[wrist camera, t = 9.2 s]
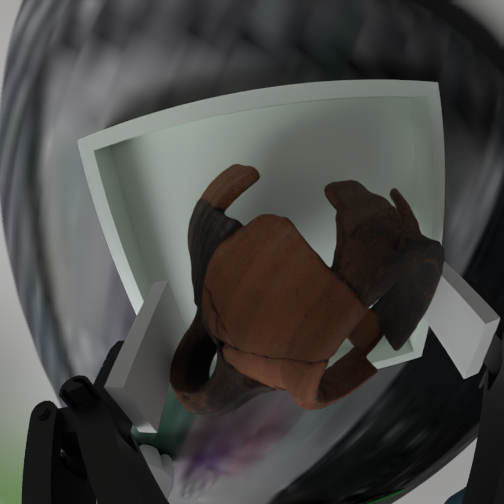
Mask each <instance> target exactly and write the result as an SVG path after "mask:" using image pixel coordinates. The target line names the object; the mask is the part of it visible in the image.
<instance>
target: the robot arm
mask: <svg viewBox="0 0 504 504" xmlns="http://www.w3.org/2000/svg"><path fill="white" fill-rule="evenodd" d="M423 317H424V319H425V320H426V322H427V323H428V324H429V326H430V327H431V329H432V330H433V332H434V333H435V335H436V336H437V338H438V339H439V341H440V342H441V344H442V345H443V347H444V348H445V350H446V351H447V353H448V354H449V356H450V357H451V359H452V361H453V362H454V364H455V365H456V367H457V368H458V370H459V372H460V373H461V375H462V377H463V378H464V379H465V378H468V377H470V376H472V375H474V374H477V373H478V372H479V370H480V368H481V366H482V364H483V362H484V363H485V365H486V366H487V369H486V372H485V374H484V376H483V378H482V380H481V382H480V384H479V387H478V388H481V386H482V384H483V382H484V391H483V402H482V411H481V419H480V426H479V432H478V438H477V444H476V449H475V454H474V459H473V463H472V467H471V471H470V475H469V479H468V483H467V486H466V487H465V488H464V489H462V490H460V491H459V492H457V493H455V494H454V495H453V496H451V497H450V498H449V499H448V500H447V501H446V502H445V503H444V504H504V310H503V309H502V308H501V307H500V306H499V305H498V304H497V303H496V302H495V301H494V300H492V298H491V297H490V296H489V295H488V294H487V293H486V292H485V291H484V290H483V289H482V288H481V287H480V286H479V285H477V284H475V283H473V282H471V281H468V282H466V281H465V280H464V279H463V278H462V277H460V276H459V275H458V274H457V273H456V272H455V271H454V270H453V269H452V268H451V267H450V266H449V265H448V264H447V263H446V262H445V261H444V265H443V272H442V275H441V278H440V281H439V284H438V286H437V288H436V292H435V294H434V297H433V299H432V301H431V303H430V305H429V307H428V309H427V311H426V313H425V315H424V316H423ZM184 326H185V325H184V322H183V319H182V317H181V314H180V311H179V309H178V306H177V303H176V301H175V298H174V295H173V292H172V290H171V287H170V284H169V281H168V280H166V281H159V282H154V283H153V285H152V287H151V289H150V291H149V293H148V295H147V297H146V299H145V301H144V302H143V304H142V306H141V308H140V310H139V312H138V315H137V317H136V319H135V321H134V323H133V325H132V327H131V329H130V331H129V333H128V335H127V337H126V339H125V341H118V342H117V343H116V344H115V345H114V346H113V347H112V348H111V349H110V351H109V353H108V355H107V357H106V360H105V361H104V363H103V367H101V369H100V372H99V374H98V376H97V378H96V380H95V382H94V384H92V383H91V382H90V380H89V379H88V378H87V377H85V376H79V375H78V376H75V377H72V378H70V379H69V380H67V381H66V382H65V383H64V384H63V385H62V387H61V389H60V393H59V396H60V397H61V399H62V400H63V401H64V402H65V403H66V405H67V406H68V407H64V408H59V409H58V408H57V407H56V405H55V404H54V403H53V402H51V401H43V402H41V403H39V404H38V405H36V406H35V408H34V409H33V411H32V413H31V417H30V423H29V429H28V435H27V442H26V449H25V458H24V469H23V482H22V504H96V500H97V503H98V504H169V502H168V501H167V499H166V497H165V496H164V494H163V492H162V490H161V489H160V487H159V485H158V483H157V481H156V480H155V478H154V476H153V474H152V472H151V470H150V468H149V466H148V464H147V462H146V460H145V458H144V456H143V454H142V452H141V450H140V448H139V446H138V443H137V441H136V439H135V437H134V436H133V434H132V433H131V432H130V431H131V428H132V425H134V426H135V427H136V428H137V430H138V431H139V432H148V433H157V432H158V428H159V423H160V419H161V415H162V410H163V406H164V402H165V398H166V394H167V390H168V386H169V382H170V369H171V363H172V360H173V356H174V354H175V351H176V349H177V347H178V345H179V343H180V340H181V336H182V333H183V329H184Z"/></svg>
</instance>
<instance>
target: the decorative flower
mask: <svg viewBox="0 0 504 504" xmlns="http://www.w3.org/2000/svg"><path fill="white" fill-rule="evenodd" d="M404 490H405V489H404V488H403V489H400V490H398V491H395V492H393V493H390V494H388V495H385V496H383V497H380V498H378V499H375V500H372V501H370V502H367V503H364V504H373V503H375V502H378V501H381V500H383V499H386V498H388V497H391V496H393V495H395V494H398V493H400V492H402V491H404Z"/></svg>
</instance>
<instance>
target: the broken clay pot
mask: <svg viewBox="0 0 504 504" xmlns="http://www.w3.org/2000/svg"><path fill="white" fill-rule="evenodd" d="M259 179H260V174H259V172H258V170H257V169H256V168H254V167H252V166H244V165H241V164H234V165H231V166H230V167H229V168H227V169H226V170H224V171H223V172H222V173H220V174H219V175H218V176H217V177H216V178H215V179H214V180H213V181H212V182H211V183H210V184H209V186H208V187H207V188H206V190H205V191H204V192H203V194H202V196H201V198H200V199H199V200H198V201H197V203H196V205H195V207H194V210H193V213H192V216H191V218H190V221H189V227H188V236H187V239H188V240H187V241H188V250H189V255H190V261H191V279H192V285H193V291H194V303H195V305H196V306H197V311H196V315H195V318H194V320H193V321H192V323H191V325H190V327H189V328H188V330H187V331H186V333H185V334H184V336H183V337H182V339H181V341H180V343H179V345H178V347H177V349H176V351H175V354H174V356H173V360H172V363H171V369H170V383H171V387H172V389H173V391H174V393H175V395H176V397H177V398H178V400H179V401H180V402H181V404H182V405H183V406H184V407H185V408H186V409H187V410H189V411H190V412H192V413H195V414H198V415H210V416H219V415H224V414H226V413H229V412H231V411H233V410H235V409H237V408H239V407H240V406H242V405H243V404H244V403H246V402H247V401H249V400H250V399H252V398H254V397H255V396H257V395H259V394H262V393H266V392H270V391H274V390H276V389H278V390H281V391H285V390H288V391H289V392H290V393H291V395H292V396H293V398H294V400H295V402H296V403H297V404H298V405H299V406H300V407H301V408H303V409H307V410H313V409H322V408H324V407H327V406H329V405H330V404H333V403H335V402H337V401H338V400H340V399H342V398H344V397H345V396H347V395H348V394H350V393H352V392H353V391H354V390H356V389H357V388H359V387H360V386H361V385H363V384H364V383H365V382H366V381H368V380H369V379H370V378H371V377H372V376H373V375H374V374H376V373H377V368H376V367H375V366H374V365H373V364H372V363H371V362H370V361H369V360H368V359H367V355H368V354H369V353H370V352H371V351H372V350H373V349H374V348H375V346H376V345H377V344H378V343H379V341H380V340H381V339H382V337H383V336H385V338H386V339H387V341H388V343H389V344H390V345H391V347H392V348H393V350H394V351H398V350H400V349H401V348H402V347H403V345H404V344H405V343H406V342H407V340H408V339H409V338H410V336H411V335H412V333H413V332H414V331H415V329H416V328H417V326H418V324H419V322H420V321H421V319H422V318H423V316H424V315H425V313H426V311H427V309H428V307H429V305H430V303H431V301H432V299H433V297H434V294H435V292H436V288H437V286H438V284H439V281H440V278H441V275H442V272H443V265H444V248H443V247H442V245H441V243H440V242H439V241H437V240H433V239H430V238H428V237H426V236H424V235H423V234H422V233H421V231H420V228H419V223H418V221H417V219H416V217H415V216H414V213H413V211H412V209H411V207H410V205H409V204H408V202H407V201H406V200H405V199H404V197H403V196H402V195H401V193H400V192H399V191H398V190H397V189H396V188H393V189H391V191H390V197H391V199H392V201H393V202H394V204H395V206H396V208H395V207H394V206H393V205H391V203H390V202H389V201H388V200H387V199H386V198H384V197H382V196H380V195H378V194H374V193H372V192H370V191H368V190H367V189H366V188H365V187H364V186H363V185H362V184H361V183H359V182H358V181H355V180H346V181H337V182H332V183H330V184H328V185H326V186H325V188H324V192H325V196H326V198H327V199H328V201H329V202H330V203H331V205H332V206H333V207H334V208H335V209H336V211H337V212H336V217H335V221H336V247H335V251H334V257H333V263H332V266H331V267H328V266H327V264H326V263H325V262H324V261H323V259H322V258H321V257H320V255H319V254H318V253H317V252H316V251H314V250H313V248H312V247H311V246H310V245H309V243H308V242H307V241H306V240H305V239H304V237H303V236H302V235H301V234H300V233H299V231H298V230H297V228H296V227H295V225H294V224H293V223H292V221H291V220H290V219H288V218H287V217H280V216H278V215H274V214H262V215H259V216H257V217H256V218H254V219H253V220H251V221H250V222H249V223H248V224H247V225H245V226H244V225H242V223H241V222H240V221H238V220H236V219H233V218H230V217H228V216H226V215H225V211H226V210H227V208H228V207H230V205H231V204H232V203H233V202H234V201H235V200H236V199H237V198H238V197H239V196H240V195H241V194H242V193H243V192H245V191H246V190H247V189H248V188H249V187H251V186H252V185H253V184H254V183H256V182H257V181H258V180H259ZM378 299H379V300H378ZM377 300H378V301H377ZM376 301H377V302H376ZM375 302H376V303H375ZM371 305H373V306H372V307H371V308H369V307H370V306H371ZM345 339H348V340H349V341H350V342H351V344H352V345H353V346H354V347H353V348H352V349H351V350H350V351H349V352H348V353H346V354H345V355H344V356H343V357H341V358H340V359H339V360H337V361H336V362H335V363H334V364H333V365H332V366H330V367H328V368H327V366H328V363H329V359H330V358H331V357H332V356H334V355H335V353H336V352H337V350H338V349H339V347H340V346H341V344H342V343H343V342H344V340H345ZM216 353H217V361H216V366H215V369H214V372H213V374H212V375H211V377H210V367H211V364H212V361H213V358H214V356H215V355H216ZM326 368H327V369H326Z"/></svg>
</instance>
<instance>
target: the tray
mask: <svg viewBox="0 0 504 504" xmlns="http://www.w3.org/2000/svg"><path fill="white" fill-rule="evenodd" d="M77 142H78V146H79V151H80V155H81V159H82V163H83V167H84V170H85V174H86V178H87V181H88V185H89V188H90V192H91V195H92V198H93V202H94V205H95V208H96V211H97V214H98V217H99V220H100V223H101V226H102V229H103V232H104V235H105V238H106V241H107V244H108V246H109V249H110V252H111V254H112V257H113V260H114V262H115V265H116V267H117V270H118V273H119V275H120V278H121V280H122V282H123V285H124V287H125V290H126V292H127V294H128V297H129V299H130V301H131V304H132V306H133V308H134V310H135V313H136V315H138V312H139V310H140V308H141V306H142V304H143V302H144V301H145V299H146V297H147V295H148V293H149V291H150V289H151V287H152V285H153V283H154V282H159V281H166V280H168V281H169V284H170V287H171V290H172V292H173V295H174V298H175V301H176V303H177V306H178V309H179V311H180V314H181V317H182V319H183V322H184V325H185V326H184V329H183V333H182V336H181V339H182V337H183V336H184V334H185V333H186V331H187V330H188V328H189V327H190V325H191V323H192V321H193V320H194V318H195V315H196V311H197V306H196V305H195V303H194V291H193V285H192V279H191V261H190V255H189V250H188V241H187V240H188V239H187V236H188V227H189V221H190V218H191V216H192V213H193V210H194V207H195V205H196V203H197V201H198V200H199V199H200V198H201V196H202V194H203V192H204V191H205V190H206V188H207V187H208V186H209V184H210V183H211V182H212V181H213V180H214V179H215V178H216V177H217V176H218V175H219V174H220V173H222V172H223V171H224V170H226V169H227V168H229V167H230V166H231V165H234V164H241V165H244V166H252V167H254V168H256V169H257V170H258V172H259V174H260V179H259V180H258V181H257V182H256V183H254V184H253V185H252V186H251V187H249V188H248V189H247V190H246V191H245V192H243V193H242V194H241V195H240V196H239V197H238V198H237V199H236V200H235V201H234V202H233V203H232V204H231V205H230V207H228V208H227V210H226V211H225V215H226V216H228V217H230V218H233V219H236V220H238V221H240V222H241V223H242V225H244V226H245V225H247V224H248V223H249V222H250V221H251V220H253V219H254V218H256V217H257V216H259V215H262V214H274V215H278V216H280V217H287V218H288V219H290V220H291V221H292V223H293V224H294V225H295V227H296V228H297V230H298V231H299V233H300V234H301V235H302V236H303V237H304V239H305V240H306V241H307V242H308V243H309V245H310V246H311V247H312V248H313V250H314V251H316V252H317V253H318V254H319V255H320V257H321V258H322V259H323V261H324V262H325V263H326V264H327V266H328V267H331V266H332V263H333V257H334V251H335V247H336V221H335V217H336V212H337V211H336V209H335V208H334V207H333V206H332V205H331V203H330V202H329V201H328V199H327V198H326V196H325V192H324V188H325V186H326V185H328V184H330V183H332V182H337V181H346V180H355V181H358V182H359V183H361V184H362V185H363V186H364V187H365V188H366V189H367V190H368V191H370V192H372V193H374V194H378V195H380V196H382V197H384V198H386V199H387V200H388V201H389V202H390V203H391V205H393V206H394V207H395V208H396V206H395V204H394V202H393V201H392V199H391V197H390V191H391V189H393V188H396V189H397V190H398V191H399V192H400V193H401V195H402V196H403V197H404V199H405V200H406V201H407V202H408V204H409V205H410V207H411V209H412V211H413V213H414V216H415V217H416V219H417V221H418V223H419V228H420V231H421V233H422V234H423V235H424V236H426V237H428V238H430V239H433V240H437V241H439V242H440V243H441V245H442V236H443V223H444V205H445V151H444V133H443V121H442V110H441V102H440V94H439V87H438V82H427V81H411V80H341V81H324V82H311V83H301V84H292V85H283V86H276V87H268V88H262V89H255V90H249V91H243V92H238V93H233V94H227V95H222V96H218V97H213V98H208V99H204V100H200V101H196V102H191V103H187V104H183V105H180V106H176V107H172V108H169V109H165V110H162V111H158V112H155V113H151V114H148V115H145V116H142V117H139V118H135V119H132V120H129V121H126V122H124V123H121V124H118V125H115V126H112V127H110V128H107V129H104V130H101V131H99V132H96V133H94V134H91V135H89V136H86V137H84V138H81V139H79V140H77ZM378 300H379V299H378ZM378 300H377V301H378ZM377 301H376V302H377ZM376 302H375V303H376ZM372 306H373V305H371V306H370V307H369V308H371V307H372ZM428 327H429V324H428V323H427V322H426V320H425V319H424V317H423V318H422V319H421V321H420V322H419V324H418V326H417V328H416V329H415V331H414V332H413V333H412V335H411V336H410V338H409V339H408V340H407V342H406V343H405V344H404V345H403V347H402V348H401V349H400V350H398V351H394V350H393V348H392V347H391V345H390V344H389V343H388V341H387V339H386V338H385V336H383V337H382V339H381V340H380V341H379V343H378V344H377V345H376V346H375V348H374V349H373V350H372V351H371V352H370V353H369V354H368V355H367V359H368V360H369V361H370V362H371V363H372V364H373V365H374V366H375V367H376V368H377V369H379V368H383V367H387V366H391V365H394V364H398V363H401V362H405V361H408V360H412V359H415V358H418V357H421V356H422V352H423V348H424V344H425V340H426V336H427V331H428ZM180 341H181V340H180ZM353 347H354V346H353V345H352V344H351V342H350V341H349V340H348V339H345V340H344V342H343V343H342V344H341V346H340V347H339V349H338V350H337V352H336V353H335V355H334V356H332V357H331V358H330V359H329V363H328V366H327V368H328V367H330V366H332V365H333V364H334V363H335V362H336V361H337V360H339V359H340V358H341V357H343V356H344V355H345V354H346V353H348V352H349V351H350V350H351V349H352V348H353ZM216 361H217V353H216V355H215V356H214V358H213V361H212V364H211V367H210V377H211V375H212V374H213V372H214V369H215V366H216ZM327 368H326V369H327Z"/></svg>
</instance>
